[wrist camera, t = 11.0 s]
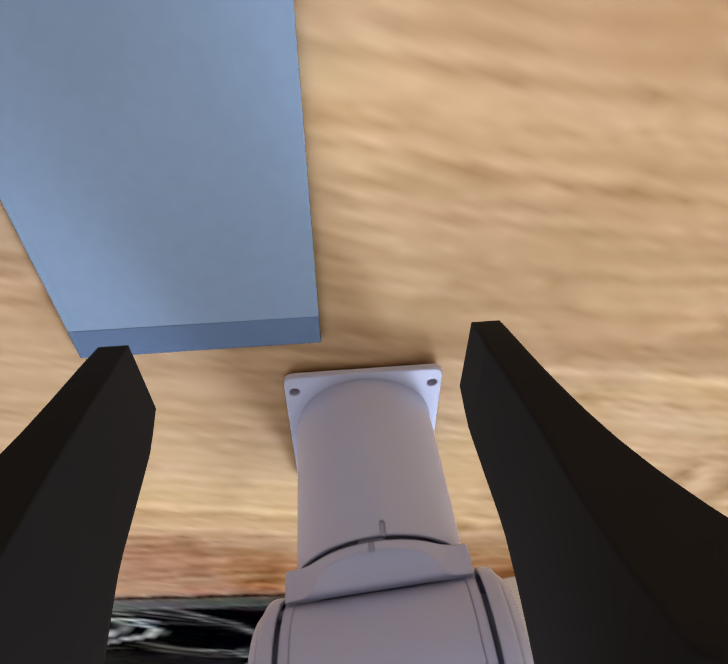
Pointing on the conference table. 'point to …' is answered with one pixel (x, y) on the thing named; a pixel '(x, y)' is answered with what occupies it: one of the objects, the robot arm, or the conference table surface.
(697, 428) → the conference table surface
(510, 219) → the conference table surface
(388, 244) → the conference table surface
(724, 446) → the conference table surface
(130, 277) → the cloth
